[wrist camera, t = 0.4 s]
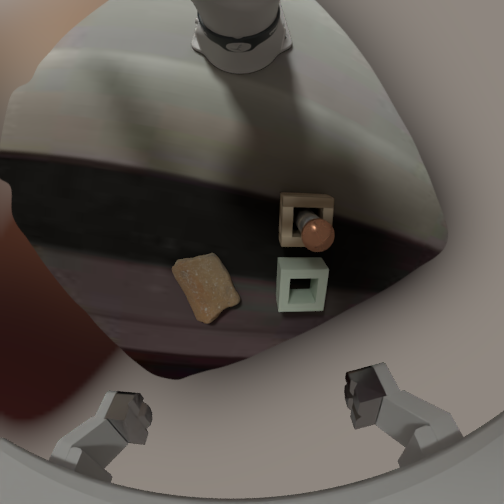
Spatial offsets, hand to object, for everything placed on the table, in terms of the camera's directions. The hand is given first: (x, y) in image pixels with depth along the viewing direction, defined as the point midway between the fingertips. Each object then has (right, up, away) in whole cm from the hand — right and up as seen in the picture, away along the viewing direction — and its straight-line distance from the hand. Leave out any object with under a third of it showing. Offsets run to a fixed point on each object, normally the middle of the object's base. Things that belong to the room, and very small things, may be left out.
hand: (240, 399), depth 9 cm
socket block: (+10, 0, +47) cm, 48 cm away
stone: (-9, -2, +48) cm, 49 cm away
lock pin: (+10, +12, +43) cm, 46 cm away
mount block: (+10, +12, +43) cm, 46 cm away
